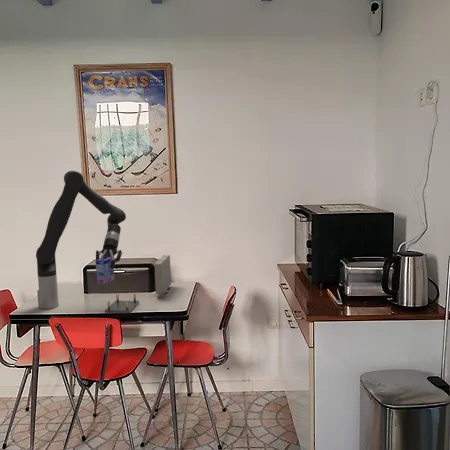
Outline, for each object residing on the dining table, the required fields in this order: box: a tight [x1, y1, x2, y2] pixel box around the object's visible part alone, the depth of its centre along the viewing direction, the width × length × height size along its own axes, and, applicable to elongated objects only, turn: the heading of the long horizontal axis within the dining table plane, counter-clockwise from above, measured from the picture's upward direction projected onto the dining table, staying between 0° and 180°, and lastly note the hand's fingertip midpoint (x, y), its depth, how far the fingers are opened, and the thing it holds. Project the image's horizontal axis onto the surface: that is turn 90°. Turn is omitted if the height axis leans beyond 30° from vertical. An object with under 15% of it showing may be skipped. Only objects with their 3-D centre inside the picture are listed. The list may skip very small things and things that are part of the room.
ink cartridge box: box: [95, 254, 115, 285], centre depth 229 cm, size 10×6×14 cm, turn 167°
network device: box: [153, 254, 174, 298], centre depth 259 cm, size 26×9×20 cm, turn 176°
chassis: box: [104, 293, 140, 314], centre depth 230 cm, size 13×17×6 cm
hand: (105, 267), depth 229 cm, fingers closed on ink cartridge box, 5 cm apart
